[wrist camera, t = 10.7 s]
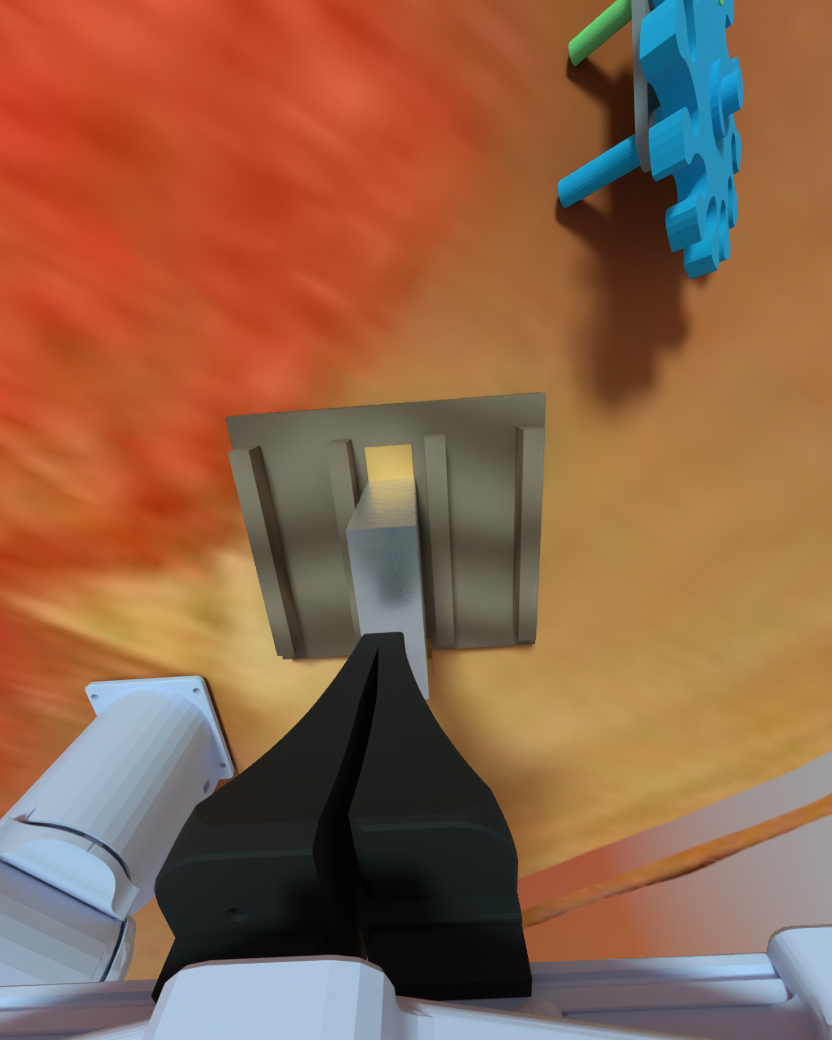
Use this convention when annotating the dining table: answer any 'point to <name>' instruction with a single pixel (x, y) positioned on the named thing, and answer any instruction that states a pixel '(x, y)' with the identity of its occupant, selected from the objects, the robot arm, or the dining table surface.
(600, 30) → the gear
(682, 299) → the dining table surface
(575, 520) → the dining table surface
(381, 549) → the panel
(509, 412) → the slot rack
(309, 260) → the dining table surface
